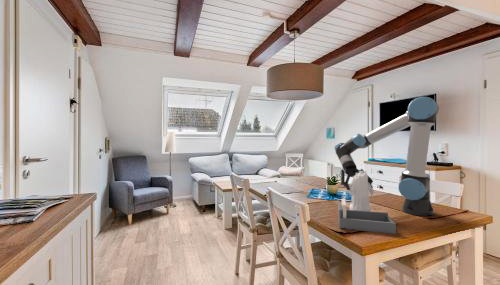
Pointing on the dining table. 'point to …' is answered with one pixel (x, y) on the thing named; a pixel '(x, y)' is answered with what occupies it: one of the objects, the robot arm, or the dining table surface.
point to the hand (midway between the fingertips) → (362, 194)
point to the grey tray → (366, 221)
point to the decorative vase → (360, 192)
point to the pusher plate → (343, 208)
